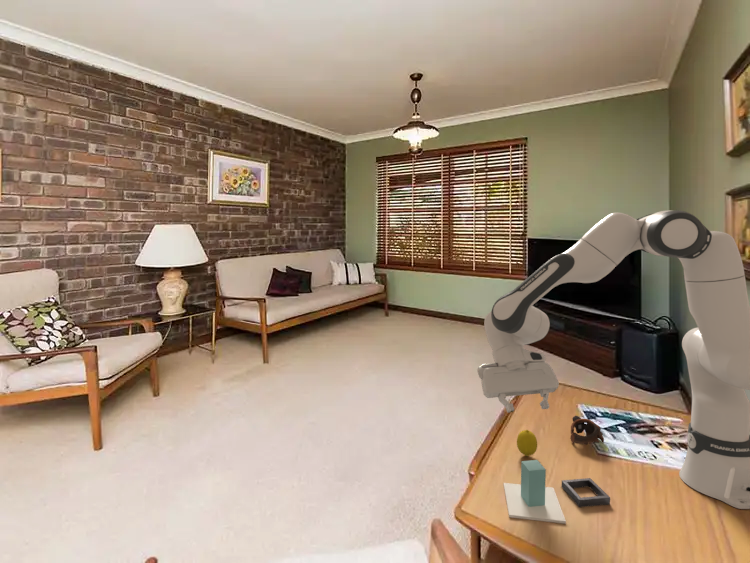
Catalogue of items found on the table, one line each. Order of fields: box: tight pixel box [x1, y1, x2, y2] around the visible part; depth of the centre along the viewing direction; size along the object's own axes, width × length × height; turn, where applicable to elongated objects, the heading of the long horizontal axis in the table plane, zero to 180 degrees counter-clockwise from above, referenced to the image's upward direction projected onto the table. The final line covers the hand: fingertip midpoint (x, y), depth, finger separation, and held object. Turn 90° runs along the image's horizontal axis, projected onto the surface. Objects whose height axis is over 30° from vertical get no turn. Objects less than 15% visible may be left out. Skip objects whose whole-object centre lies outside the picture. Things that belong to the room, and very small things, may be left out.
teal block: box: [520, 459, 547, 507], centre depth 95 cm, size 4×4×9 cm
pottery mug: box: [569, 415, 605, 446], centre depth 123 cm, size 12×10×8 cm
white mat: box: [503, 482, 567, 525], centre depth 95 cm, size 12×12×1 cm
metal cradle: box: [561, 477, 611, 508], centre depth 97 cm, size 8×8×2 cm
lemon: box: [516, 429, 538, 457], centre depth 115 cm, size 6×6×8 cm
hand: (528, 410), depth 103 cm, fingers open, 8 cm apart
